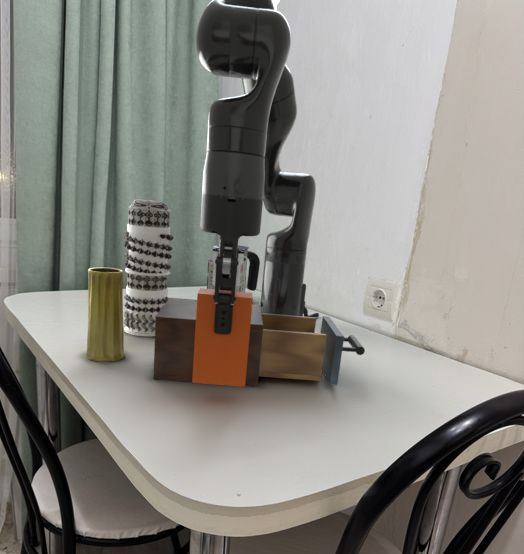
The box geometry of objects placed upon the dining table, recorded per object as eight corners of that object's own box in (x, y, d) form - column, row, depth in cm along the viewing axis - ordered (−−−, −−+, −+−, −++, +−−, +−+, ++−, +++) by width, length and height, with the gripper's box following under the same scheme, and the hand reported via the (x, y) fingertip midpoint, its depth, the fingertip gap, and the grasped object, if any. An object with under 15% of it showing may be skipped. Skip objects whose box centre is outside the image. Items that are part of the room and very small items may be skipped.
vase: (131, 355, 85) (133, 270, 81) (110, 364, 80) (110, 274, 76) (101, 348, 87) (101, 265, 83) (77, 357, 81) (76, 269, 77)
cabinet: (255, 357, 90) (260, 304, 87) (257, 386, 76) (263, 325, 74) (167, 351, 89) (169, 297, 86) (153, 379, 75) (155, 316, 73)
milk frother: (231, 305, 132) (236, 248, 128) (185, 295, 140) (188, 241, 135) (261, 300, 143) (266, 247, 139) (217, 290, 151) (220, 240, 147)
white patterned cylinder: (158, 323, 107) (163, 201, 100) (177, 335, 100) (183, 203, 93) (116, 326, 102) (117, 197, 95) (132, 338, 95) (134, 199, 88)
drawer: (347, 360, 90) (353, 318, 88) (364, 387, 78) (372, 338, 75) (242, 352, 89) (246, 309, 87) (242, 378, 76) (247, 328, 74)
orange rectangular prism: (244, 376, 71) (252, 292, 68) (244, 386, 67) (252, 298, 64) (194, 373, 71) (199, 288, 67) (192, 383, 67) (197, 293, 63)
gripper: (206, 192, 69) (199, 315, 73) (197, 190, 55) (189, 341, 60) (261, 197, 69) (250, 319, 74) (265, 196, 55) (252, 346, 60)
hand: (223, 328), depth 67 cm, fingers closed on orange rectangular prism, 4 cm apart
